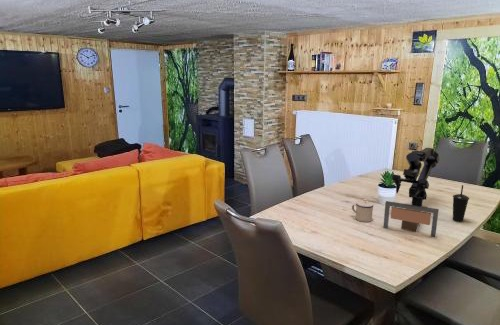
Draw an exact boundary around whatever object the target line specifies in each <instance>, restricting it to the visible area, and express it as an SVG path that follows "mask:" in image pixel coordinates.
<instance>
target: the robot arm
mask: <svg viewBox="0 0 500 325" xmlns="http://www.w3.org/2000/svg"><path fill="white" fill-rule="evenodd" d="M405 159H406V161H407V163H408V165H409V166H408V168H407V169H406V168H405V169H403V173H402V175H403V177H401V175H399V174H393V175H392V176H391V180H392V182H393V184H394V183H395V189H396V190H395V193H396V194H398V193H399V191H400V188H401V186H402V184H401V183H402V182H404V183H409V184H411V186H410V187H409V189H408V198H412V199H411V205H415V206H422V207H424V206H423V201H426V200H427V198H428V193H427V191H426V190H429V187H430V184H429V181H428V178H429V176H430V173H431V171H432V169H433V168H435V167H437V165H438V163H439V162H440V154H438V153H437V152H436V151H435V148H432V147H424V148H423V149H422V150H412V151H411V152H409V153H408V154H406V157H405ZM422 162H423V164H422ZM422 165H423V167H422Z"/></svg>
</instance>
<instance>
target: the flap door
mask: <svg viewBox="0 0 500 325" xmlns="http://www.w3.org/2000/svg"><path fill="white" fill-rule="evenodd" d="M390 209H391V210H390V219H392V220H398V221H402V220H403V221H409V222H414V223H419V225H420V224H421V225H426V226H430V225H431V216H432V213H430V212H424V211H415V210H409V209H405V208H399V207H392V206H390Z"/></svg>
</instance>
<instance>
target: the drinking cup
mask: <svg viewBox="0 0 500 325" xmlns="http://www.w3.org/2000/svg"><path fill="white" fill-rule="evenodd" d="M460 189H461V190H460V193H456V194H453V195H452V221H453V222H456V223H463V222H464V219H465V214H466V210H467V206H468V202H469V200H470V197H469V196H467V195H466V194H463V192H464V185H463V184H462V185H461V188H460Z"/></svg>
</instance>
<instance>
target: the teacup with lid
mask: <svg viewBox="0 0 500 325" xmlns="http://www.w3.org/2000/svg"><path fill="white" fill-rule="evenodd" d="M351 205H352V206H351V210H352V211H353V213H355V219H356V220H357V221H358V222H363V223H369V222H371V221H372V220H373V211H374V209H373V208H374V203H373V202H372V201H368V198H363V199H362V200H358V201H357V202H356V203H354V204H351ZM355 206H356V209H355Z"/></svg>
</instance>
